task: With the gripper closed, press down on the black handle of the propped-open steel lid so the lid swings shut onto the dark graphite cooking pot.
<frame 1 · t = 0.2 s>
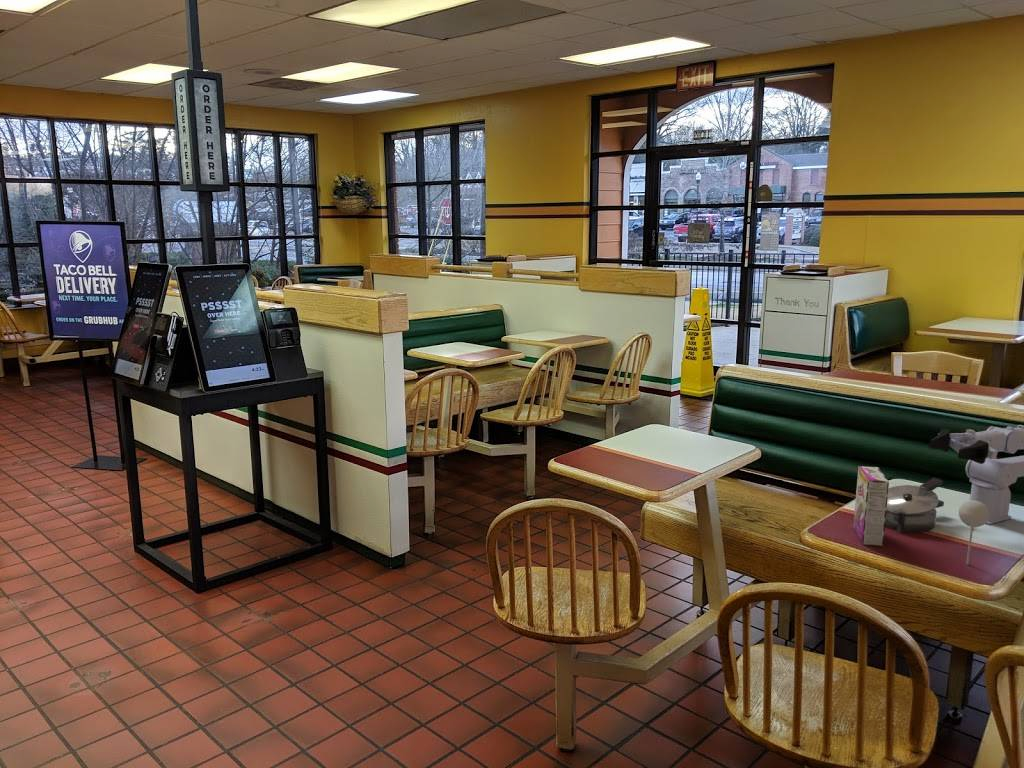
hand: (945, 448, 195), 21 cm above the table, tool horizontal, fingers open, 7 cm apart
pot: (906, 522, 205), on the table
lid: (914, 494, 204), point 7 cm above the table, hinge at 15.0°
lollipop: (967, 565, 181), on the table
candy bar box: (867, 538, 196), on the table
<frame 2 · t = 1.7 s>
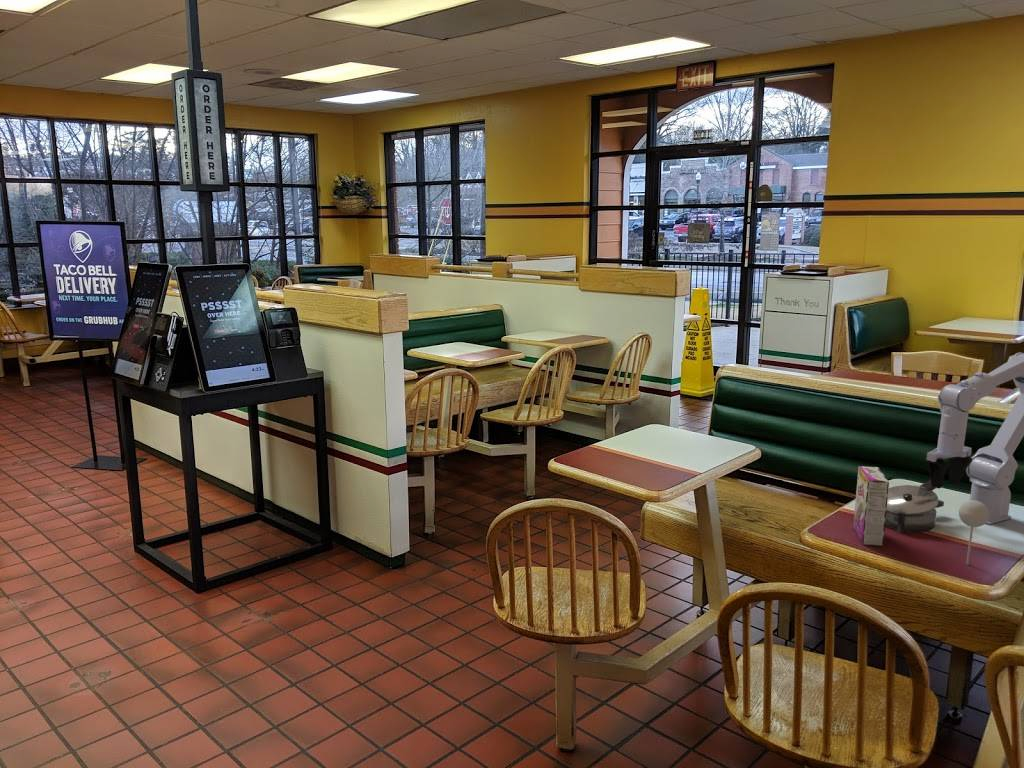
hand: (945, 485, 202), 10 cm above the table, tool pointing down, fingers open, 6 cm apart
nothing on the table moved.
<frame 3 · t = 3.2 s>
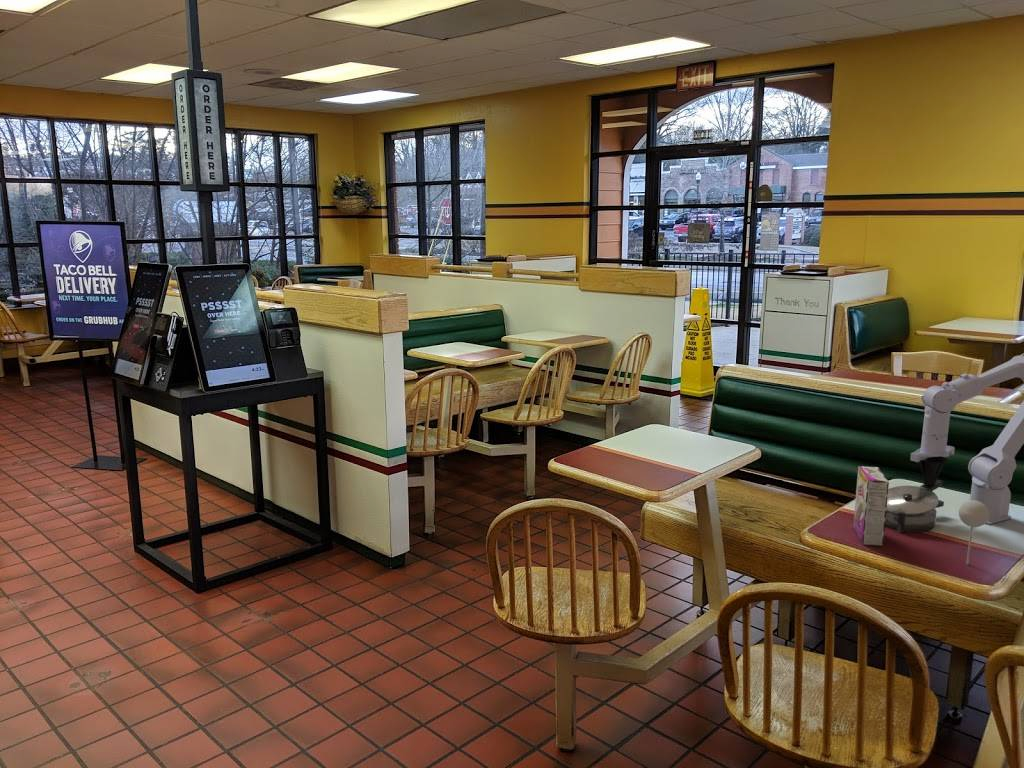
hand: (929, 484, 207), 9 cm above the table, tool pointing down, fingers closed
lid: (914, 494, 204), point 7 cm above the table, hinge at 14.3°, touching gripper
everything else where it was.
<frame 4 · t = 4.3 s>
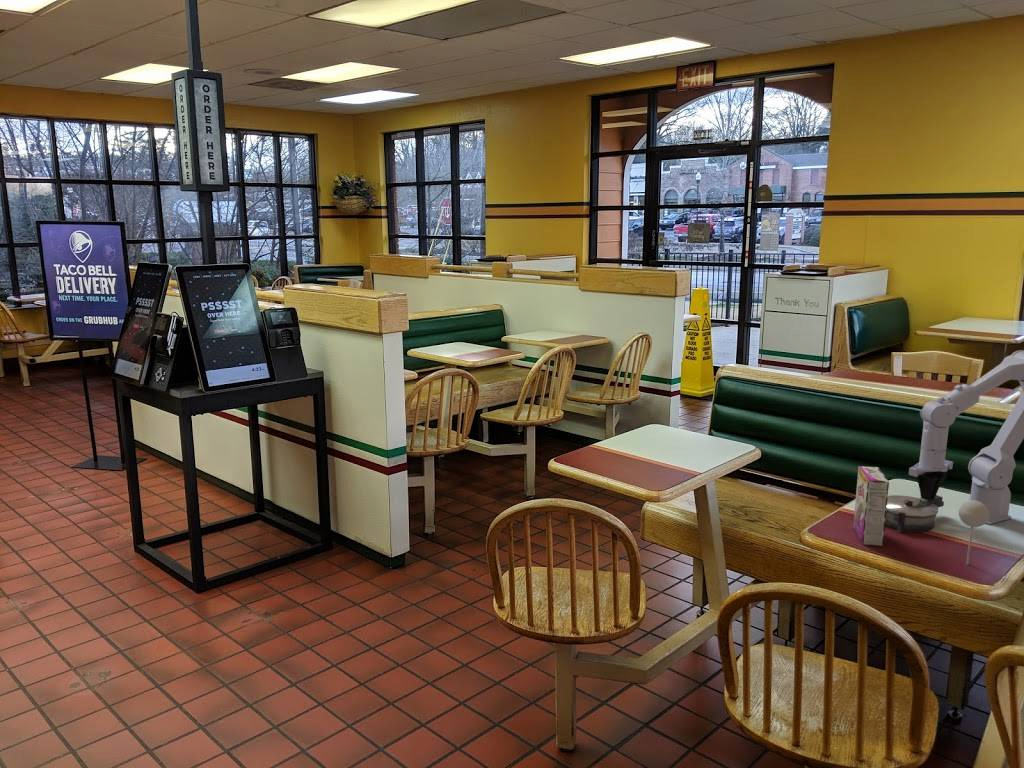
hand: (927, 498, 207), 5 cm above the table, tool pointing down, fingers closed on lid
lid: (914, 502, 205), point 5 cm above the table, hinge at 0.0°, touching gripper, pot
everything else where it was.
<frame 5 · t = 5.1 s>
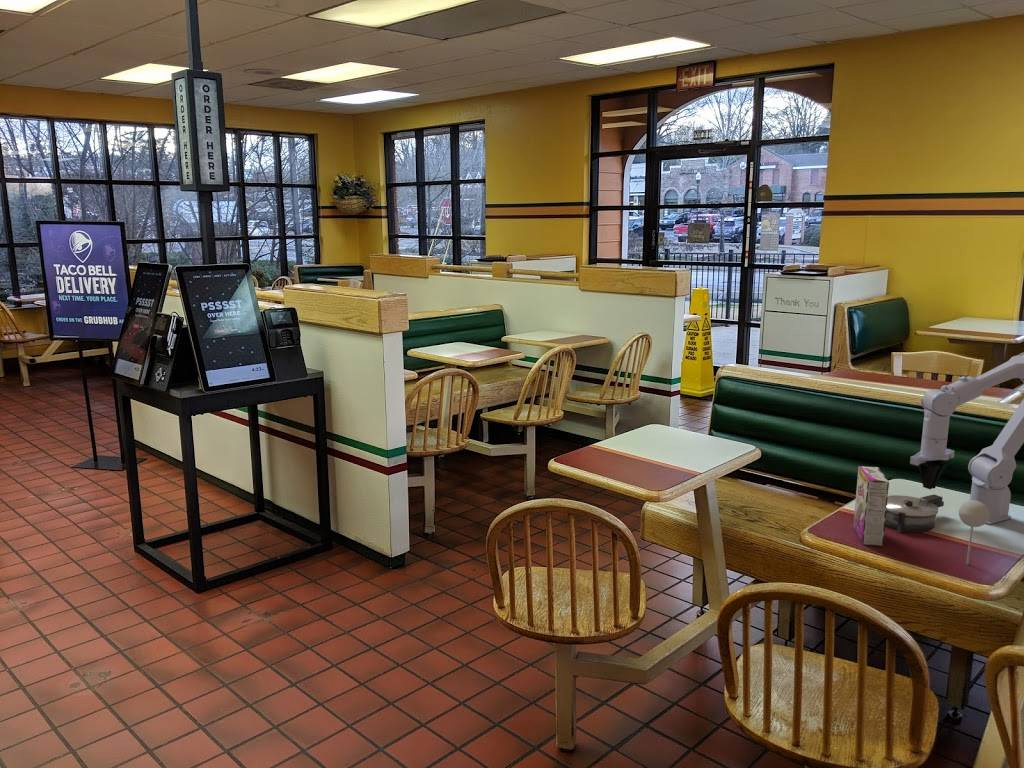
hand: (929, 487, 207), 8 cm above the table, tool pointing down, fingers closed
lid: (914, 502, 205), point 5 cm above the table, hinge at 0.0°, touching pot
everything else where it was.
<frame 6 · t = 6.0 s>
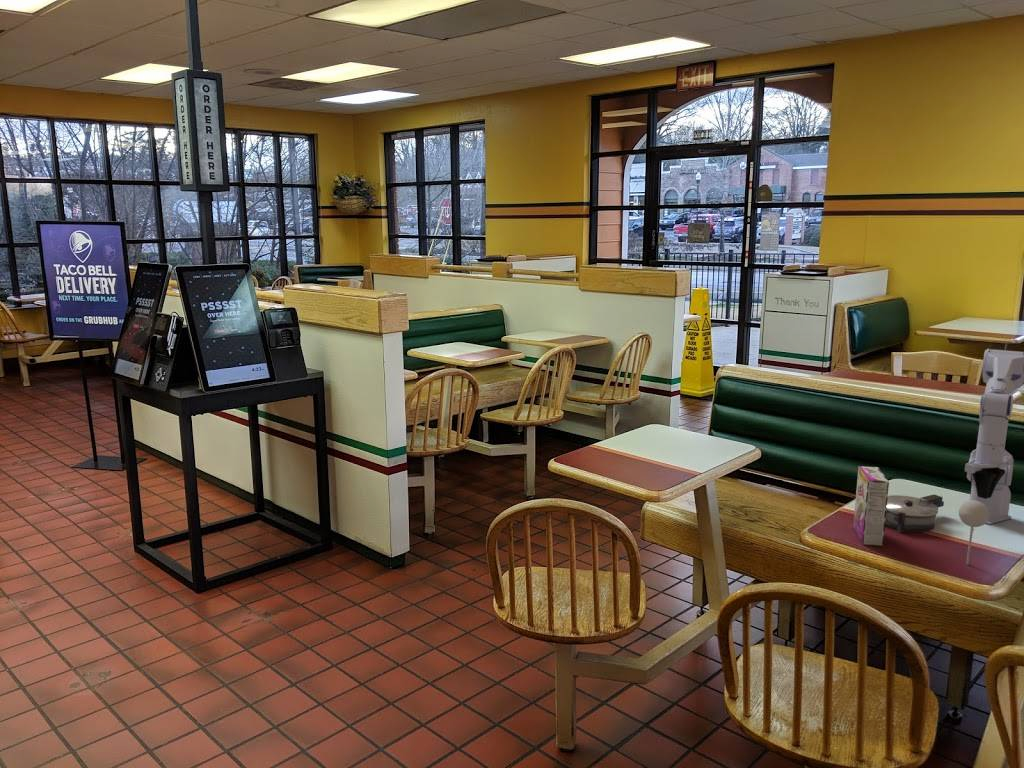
hand: (984, 497, 193), 10 cm above the table, tool pointing down, fingers closed
nothing on the table moved.
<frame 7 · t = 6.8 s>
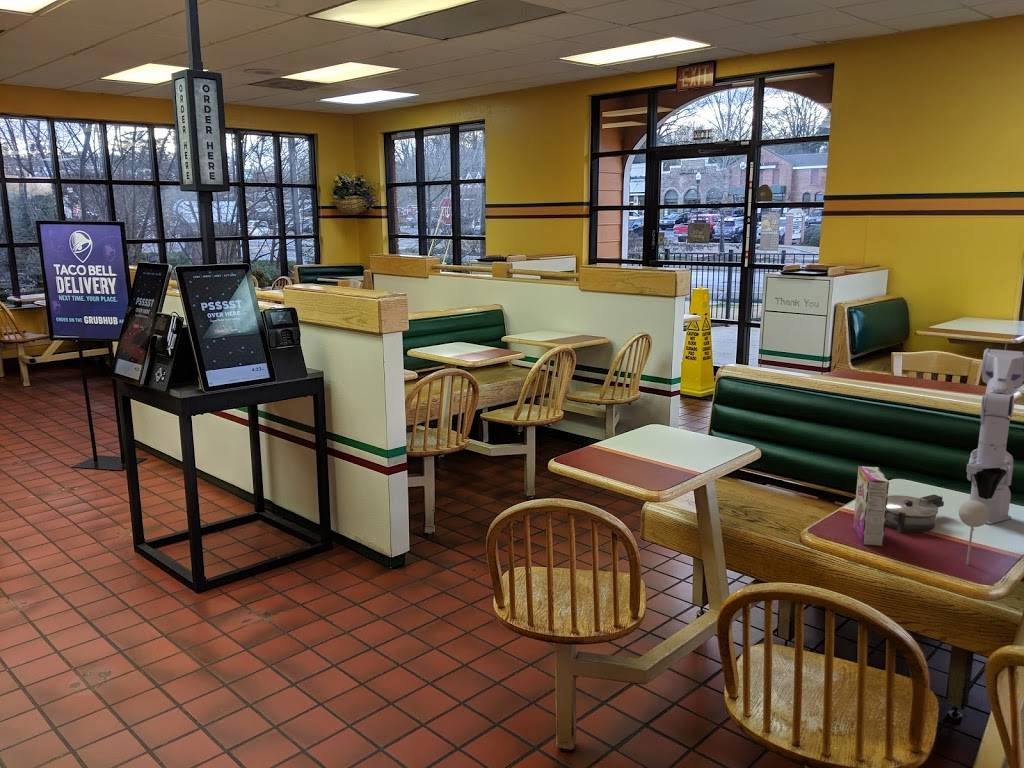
hand: (985, 497, 193), 10 cm above the table, tool pointing down, fingers closed
nothing on the table moved.
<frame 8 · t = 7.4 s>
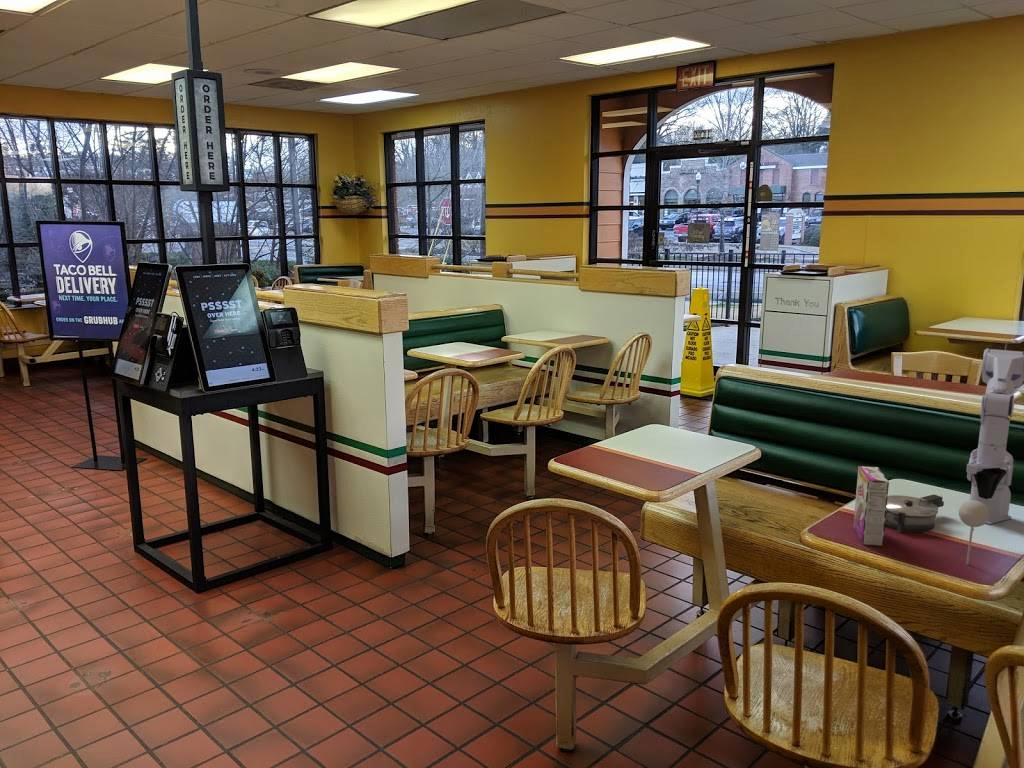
hand: (985, 497, 193), 10 cm above the table, tool pointing down, fingers closed
nothing on the table moved.
at the end: lid at +0° (first picture: +15°); candy bar box moved 0.2 cm from its start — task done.
